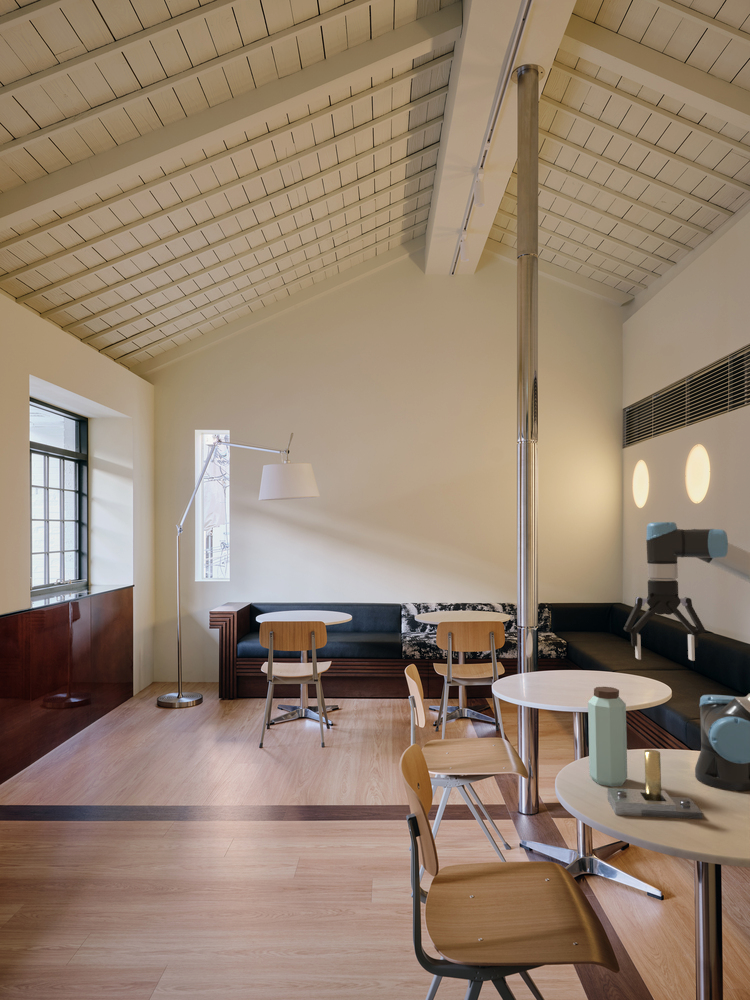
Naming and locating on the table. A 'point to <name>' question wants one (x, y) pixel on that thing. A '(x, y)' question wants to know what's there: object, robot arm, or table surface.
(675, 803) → the chain ends
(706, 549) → the robot arm
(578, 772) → the table surface
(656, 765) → the pin
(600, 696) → the water bottle
